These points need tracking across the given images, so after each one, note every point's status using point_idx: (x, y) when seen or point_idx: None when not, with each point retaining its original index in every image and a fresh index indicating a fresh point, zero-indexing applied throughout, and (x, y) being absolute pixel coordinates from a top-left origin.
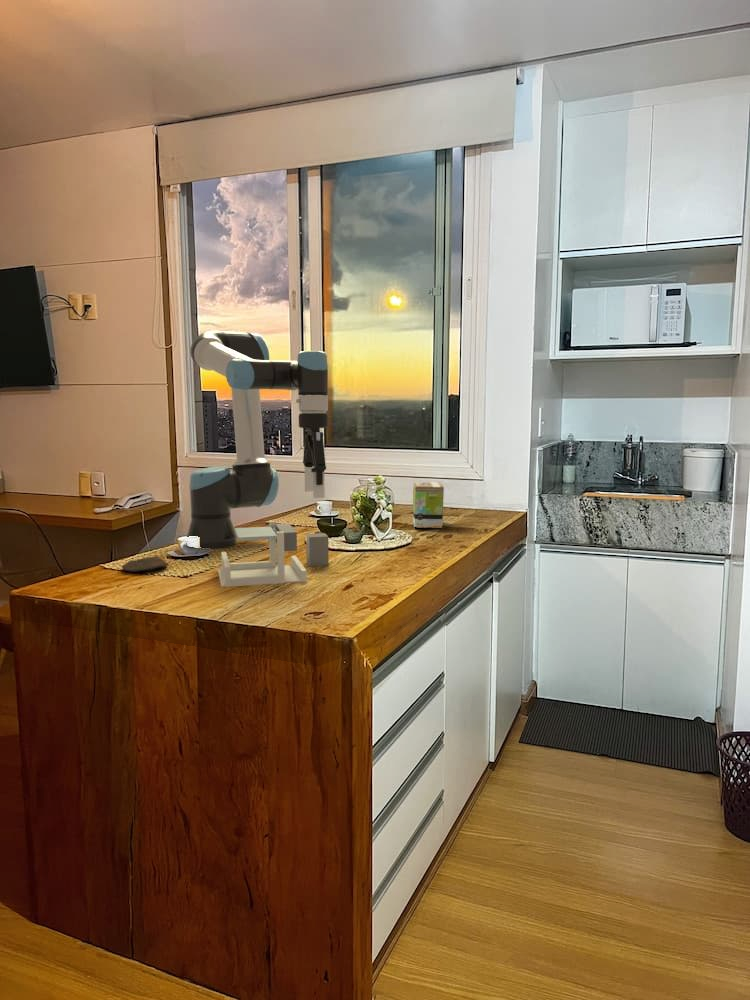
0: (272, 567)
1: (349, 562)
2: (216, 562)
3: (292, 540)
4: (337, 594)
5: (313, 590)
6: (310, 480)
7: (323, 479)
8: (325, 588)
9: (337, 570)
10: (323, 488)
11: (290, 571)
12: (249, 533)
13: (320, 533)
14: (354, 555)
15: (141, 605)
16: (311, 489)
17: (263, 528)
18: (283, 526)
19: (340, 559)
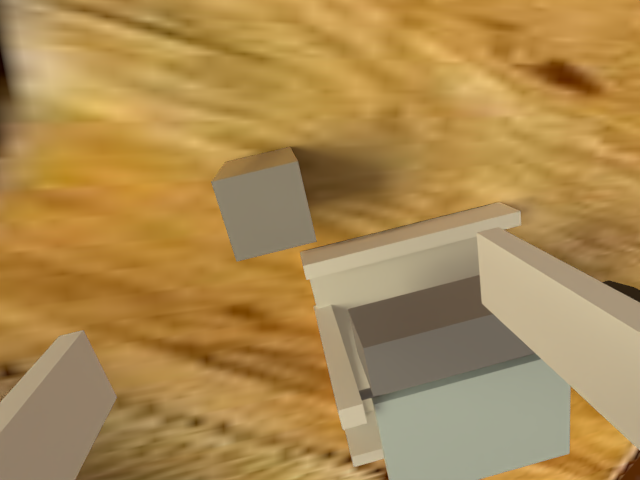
0: (335, 314)
1: (228, 66)
2: (238, 458)
3: None
4: (632, 110)
5: (576, 178)
6: (52, 435)
7: (615, 297)
8: (565, 146)
9: (355, 113)
10: (545, 259)
11: (390, 259)
12: (507, 440)
13: (224, 200)
14: (89, 40)
15: (592, 476)
16: (89, 366)
17: (415, 419)
18: (438, 357)
19: (175, 103)
